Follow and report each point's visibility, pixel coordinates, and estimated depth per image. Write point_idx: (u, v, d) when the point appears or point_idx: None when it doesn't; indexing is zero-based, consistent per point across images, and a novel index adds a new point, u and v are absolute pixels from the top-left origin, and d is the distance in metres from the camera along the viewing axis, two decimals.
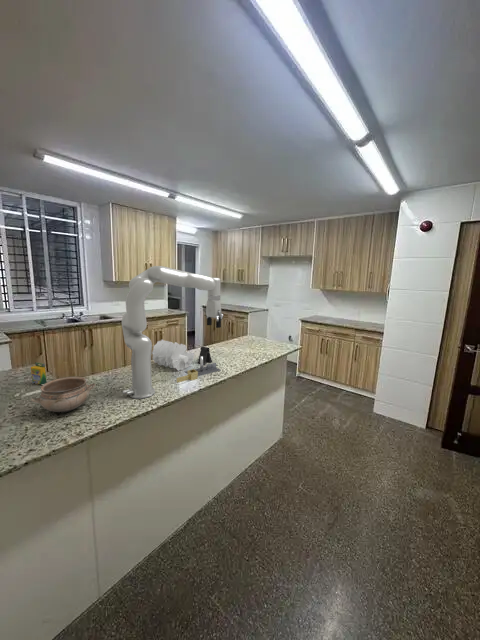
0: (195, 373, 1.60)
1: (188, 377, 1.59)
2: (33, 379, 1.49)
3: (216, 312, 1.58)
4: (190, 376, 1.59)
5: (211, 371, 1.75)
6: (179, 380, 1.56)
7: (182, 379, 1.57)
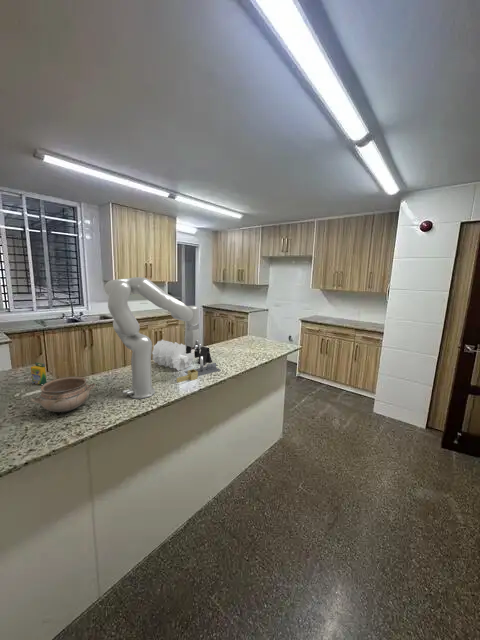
0: (195, 373, 1.60)
1: (188, 377, 1.59)
2: (33, 379, 1.49)
3: (194, 342, 1.54)
4: (190, 376, 1.59)
5: (211, 371, 1.75)
6: (179, 380, 1.56)
7: (182, 379, 1.57)
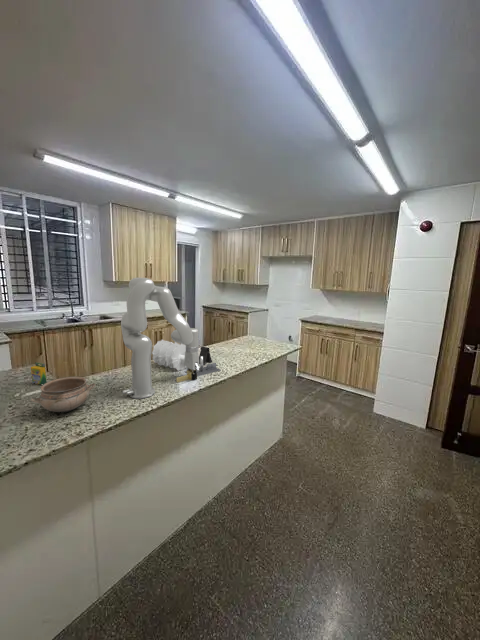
0: None
1: (188, 377, 1.60)
2: (33, 379, 1.49)
3: (194, 364, 1.56)
4: (190, 375, 1.59)
5: (211, 371, 1.75)
6: (179, 380, 1.56)
7: (181, 379, 1.57)
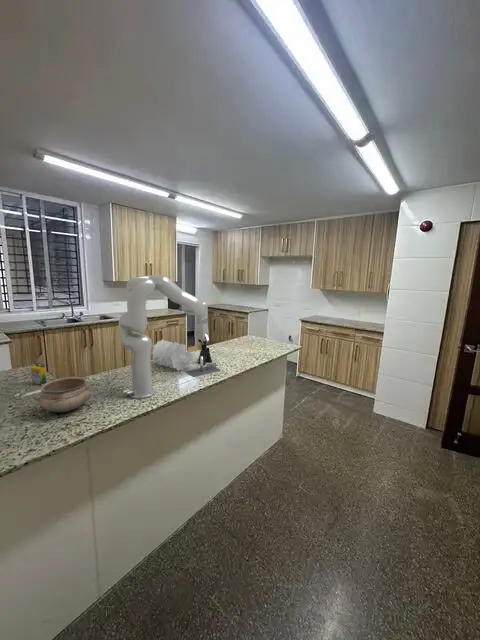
0: None
1: (198, 347, 1.70)
2: (33, 379, 1.49)
3: (203, 335, 1.66)
4: (200, 346, 1.69)
5: (211, 371, 1.75)
6: (190, 349, 1.66)
7: (192, 349, 1.67)
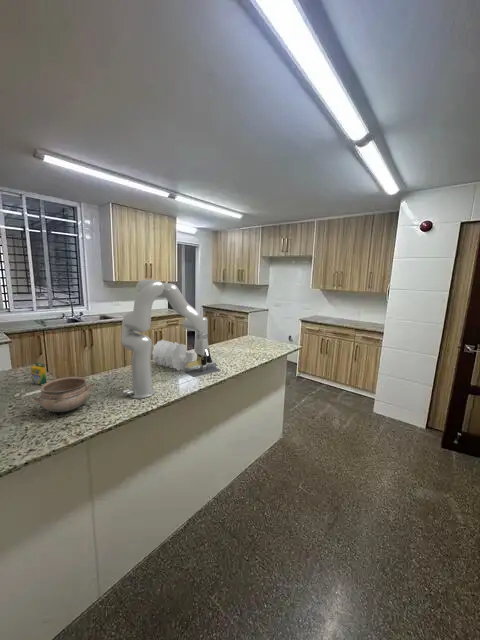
0: None
1: (198, 362, 1.71)
2: (33, 379, 1.49)
3: (203, 350, 1.67)
4: (200, 361, 1.71)
5: (211, 371, 1.75)
6: (190, 365, 1.68)
7: (192, 364, 1.69)
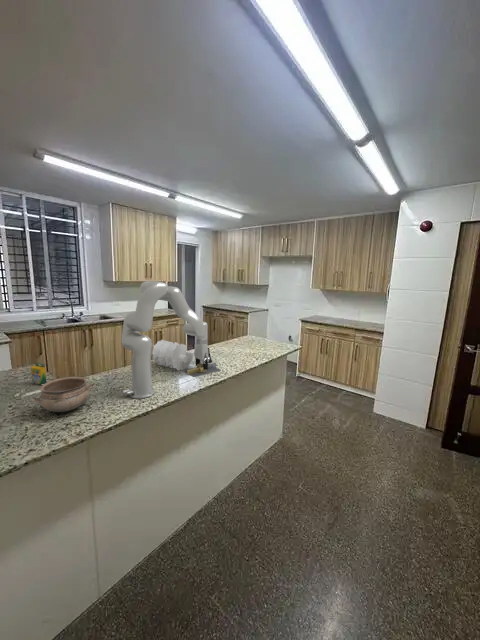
0: None
1: (198, 369, 1.72)
2: (33, 379, 1.49)
3: (203, 355, 1.68)
4: (200, 368, 1.72)
5: (211, 371, 1.75)
6: (190, 372, 1.68)
7: (192, 371, 1.69)
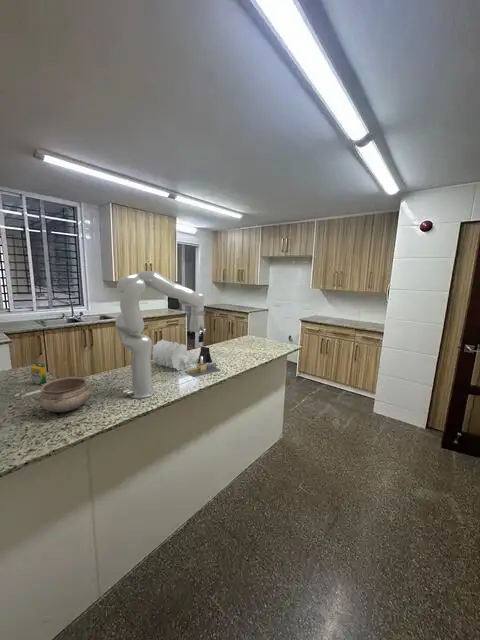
0: (204, 365, 1.73)
1: (198, 369, 1.72)
2: (33, 379, 1.49)
3: (199, 327, 1.62)
4: (200, 368, 1.72)
5: (211, 371, 1.75)
6: (190, 372, 1.68)
7: (192, 371, 1.69)
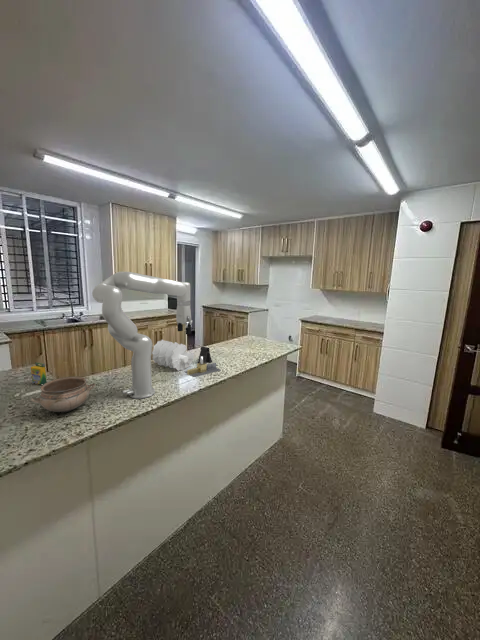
0: (204, 365, 1.73)
1: (198, 369, 1.72)
2: (33, 379, 1.49)
3: (185, 318, 1.52)
4: (200, 368, 1.72)
5: (211, 371, 1.75)
6: (190, 372, 1.68)
7: (192, 371, 1.69)
